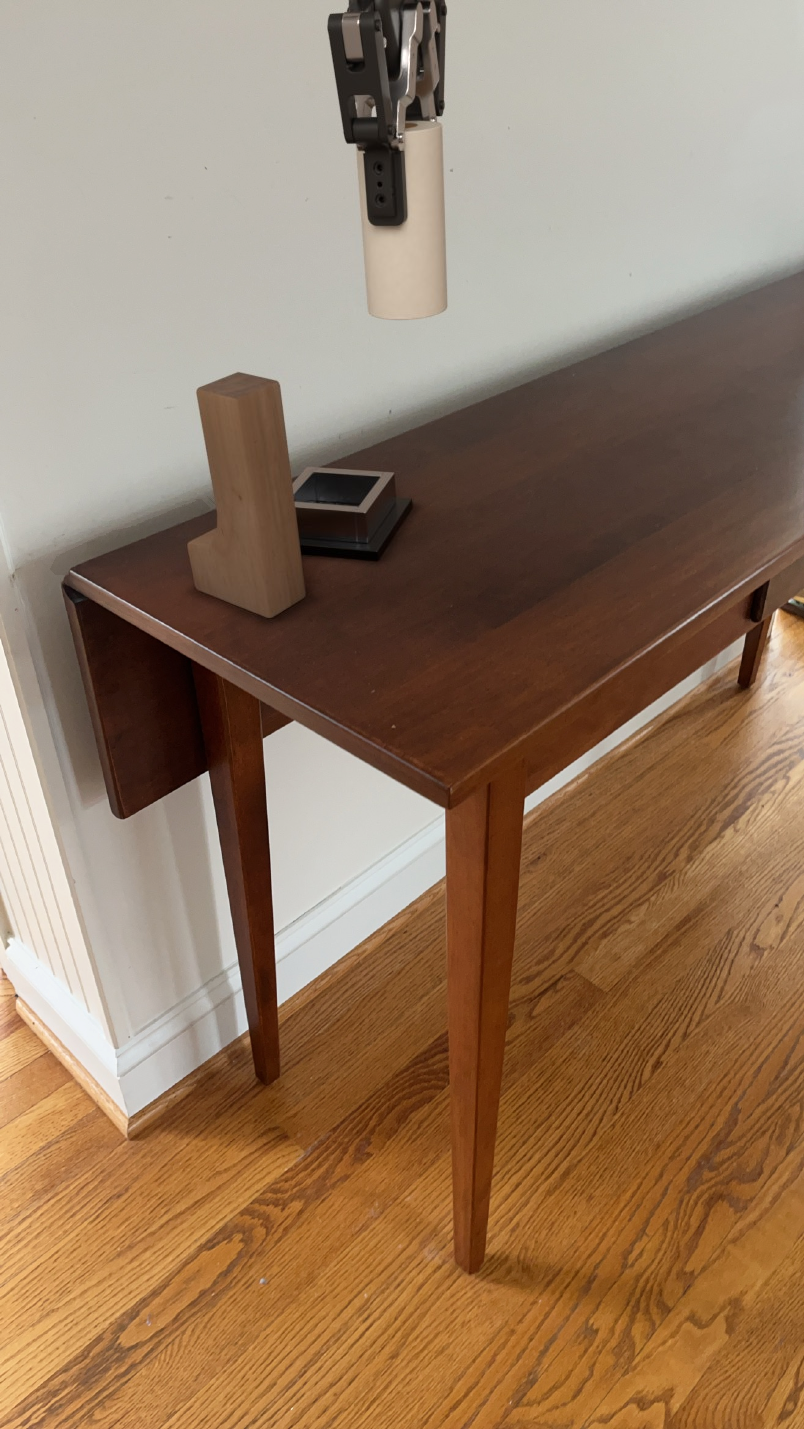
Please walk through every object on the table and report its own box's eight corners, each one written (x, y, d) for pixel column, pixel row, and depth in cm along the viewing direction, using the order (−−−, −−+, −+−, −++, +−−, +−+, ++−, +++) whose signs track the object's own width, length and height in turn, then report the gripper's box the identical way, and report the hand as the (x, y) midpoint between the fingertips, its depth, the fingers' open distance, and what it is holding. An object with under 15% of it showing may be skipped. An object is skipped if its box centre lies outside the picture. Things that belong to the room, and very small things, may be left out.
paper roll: (357, 319, 63) (342, 133, 57) (382, 297, 67) (370, 121, 61) (435, 321, 62) (428, 130, 56) (456, 299, 65) (452, 118, 59)
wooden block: (193, 590, 86) (151, 377, 76) (232, 569, 89) (197, 360, 78) (270, 621, 81) (236, 398, 71) (308, 597, 84) (281, 379, 74)
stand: (261, 550, 92) (254, 509, 89) (304, 499, 100) (300, 460, 98) (378, 561, 89) (374, 519, 86) (412, 507, 97) (410, 467, 95)
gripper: (358, -144, 57) (379, 192, 67) (255, -162, 46) (299, 241, 57) (489, -157, 55) (491, 191, 65) (413, -179, 44) (429, 242, 55)
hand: (402, 212), depth 61 cm, fingers closed on paper roll, 5 cm apart
